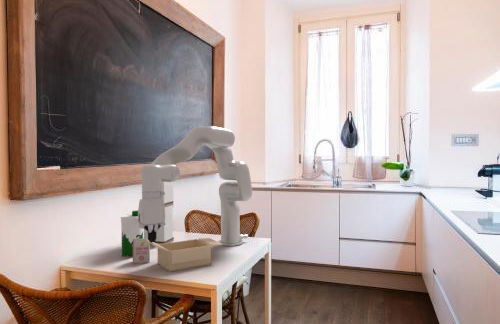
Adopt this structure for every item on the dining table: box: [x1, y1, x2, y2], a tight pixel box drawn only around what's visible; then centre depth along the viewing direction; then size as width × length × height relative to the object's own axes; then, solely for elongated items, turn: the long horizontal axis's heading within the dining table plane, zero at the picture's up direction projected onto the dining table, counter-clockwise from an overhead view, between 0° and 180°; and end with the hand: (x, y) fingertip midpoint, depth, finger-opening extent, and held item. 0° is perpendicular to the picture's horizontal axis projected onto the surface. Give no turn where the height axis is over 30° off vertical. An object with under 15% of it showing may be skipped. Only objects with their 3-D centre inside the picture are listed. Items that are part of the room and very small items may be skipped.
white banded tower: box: [143, 181, 175, 246], centre depth 199 cm, size 11×11×35 cm
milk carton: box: [120, 209, 144, 258], centre depth 176 cm, size 9×9×20 cm
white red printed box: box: [132, 237, 151, 264], centre depth 164 cm, size 4×7×10 cm, turn 101°
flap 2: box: [198, 237, 223, 247], centre depth 167 cm, size 1×13×6 cm
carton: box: [156, 238, 212, 273], centre depth 161 cm, size 18×15×8 cm
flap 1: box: [145, 239, 168, 251], centre depth 154 cm, size 1×13×6 cm
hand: (152, 241), depth 153 cm, fingers closed
